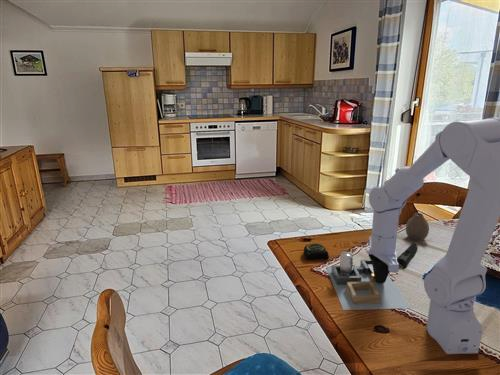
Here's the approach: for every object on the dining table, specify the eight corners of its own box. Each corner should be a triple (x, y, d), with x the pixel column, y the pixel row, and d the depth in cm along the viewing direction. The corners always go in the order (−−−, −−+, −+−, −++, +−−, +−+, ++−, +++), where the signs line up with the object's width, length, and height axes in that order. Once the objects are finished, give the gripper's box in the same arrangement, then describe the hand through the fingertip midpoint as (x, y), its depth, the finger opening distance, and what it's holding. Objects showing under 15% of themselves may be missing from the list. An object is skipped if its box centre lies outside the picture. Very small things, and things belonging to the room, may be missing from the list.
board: (410, 311, 75) (411, 308, 75) (343, 313, 76) (343, 309, 76) (380, 268, 94) (380, 265, 93) (325, 269, 94) (326, 266, 94)
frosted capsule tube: (353, 281, 86) (354, 257, 84) (341, 281, 86) (342, 257, 84) (350, 274, 89) (351, 251, 87) (338, 274, 89) (339, 251, 87)
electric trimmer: (420, 253, 102) (421, 244, 101) (404, 273, 91) (405, 263, 90) (407, 249, 104) (408, 240, 103) (391, 269, 93) (392, 259, 92)
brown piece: (380, 303, 77) (380, 296, 77) (353, 304, 77) (354, 297, 77) (371, 288, 83) (371, 281, 82) (346, 288, 83) (346, 281, 83)
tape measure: (305, 264, 97) (306, 253, 96) (301, 253, 104) (302, 242, 103) (328, 263, 97) (329, 252, 96) (323, 252, 104) (323, 241, 103)
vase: (400, 236, 113) (402, 212, 110) (416, 232, 115) (419, 209, 112) (415, 244, 106) (418, 219, 104) (432, 240, 108) (435, 216, 106)
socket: (388, 283, 85) (389, 276, 84) (336, 285, 85) (337, 278, 84) (376, 265, 93) (377, 259, 93) (329, 266, 94) (329, 260, 93)
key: (384, 281, 86) (385, 275, 85) (372, 281, 86) (372, 276, 85) (376, 269, 91) (377, 264, 91) (365, 269, 91) (365, 264, 91)
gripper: (358, 222, 88) (356, 267, 92) (378, 247, 74) (374, 299, 78) (385, 221, 87) (381, 266, 91) (410, 246, 74) (404, 298, 78)
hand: (380, 281), depth 85 cm, fingers closed
